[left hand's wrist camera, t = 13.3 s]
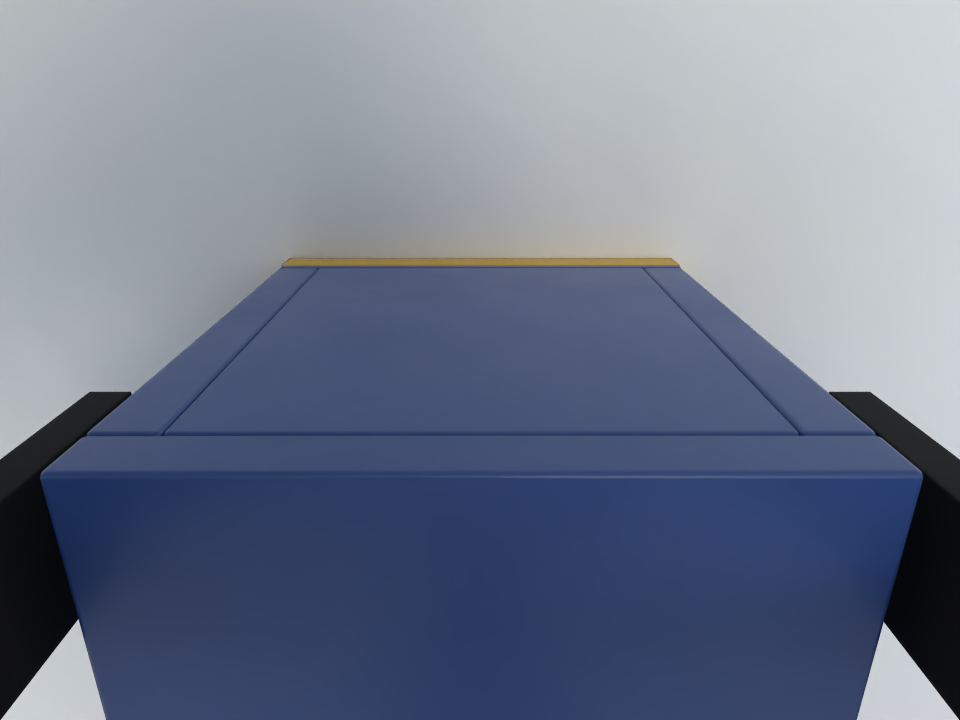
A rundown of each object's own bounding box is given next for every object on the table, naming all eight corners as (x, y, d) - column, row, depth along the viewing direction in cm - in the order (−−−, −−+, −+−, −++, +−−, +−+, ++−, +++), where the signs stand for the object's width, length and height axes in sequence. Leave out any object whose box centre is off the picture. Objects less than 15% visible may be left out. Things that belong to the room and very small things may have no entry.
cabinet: (622, 732, 26) (727, 1198, 15) (339, 732, 26) (235, 1199, 15) (671, 257, 19) (929, 472, 8) (289, 258, 19) (33, 473, 8)
